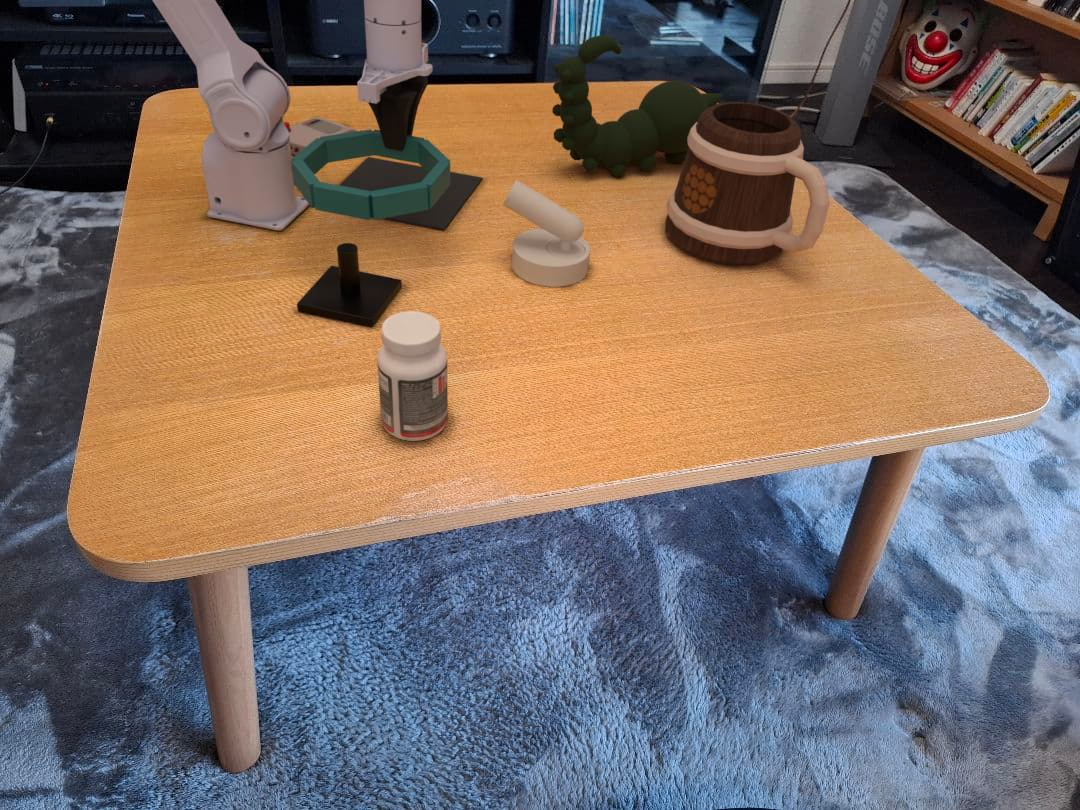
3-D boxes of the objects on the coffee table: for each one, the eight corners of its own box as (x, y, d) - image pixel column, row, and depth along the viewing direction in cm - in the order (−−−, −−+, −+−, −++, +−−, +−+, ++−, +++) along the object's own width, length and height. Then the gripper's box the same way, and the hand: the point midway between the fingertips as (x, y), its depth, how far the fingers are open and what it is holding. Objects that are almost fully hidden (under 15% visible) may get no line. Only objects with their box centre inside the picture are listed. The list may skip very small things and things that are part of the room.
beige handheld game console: (368, 133, 122) (367, 112, 120) (286, 168, 111) (284, 146, 109) (332, 121, 124) (331, 100, 122) (250, 154, 114) (246, 132, 112)
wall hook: (513, 163, 95) (602, 177, 94) (509, 240, 101) (593, 254, 100) (494, 196, 88) (590, 211, 87) (491, 277, 94) (581, 292, 93)
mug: (636, 228, 105) (655, 107, 96) (718, 199, 113) (743, 85, 104) (762, 303, 94) (798, 174, 85) (843, 265, 102) (885, 143, 92)
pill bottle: (457, 411, 76) (459, 317, 70) (431, 451, 72) (429, 355, 66) (399, 394, 77) (395, 301, 71) (369, 432, 73) (362, 337, 67)
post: (297, 311, 86) (290, 259, 83) (331, 273, 92) (327, 222, 89) (372, 327, 85) (369, 275, 81) (402, 287, 91) (400, 236, 87)
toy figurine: (572, 201, 114) (733, 165, 121) (575, 55, 101) (754, 25, 108) (543, 171, 120) (698, 139, 127) (542, 31, 107) (714, 3, 115)
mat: (318, 206, 104) (318, 204, 104) (368, 158, 115) (368, 156, 115) (444, 230, 101) (444, 228, 101) (482, 179, 113) (482, 177, 113)
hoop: (271, 201, 87) (268, 177, 86) (337, 144, 99) (335, 121, 97) (414, 229, 85) (413, 205, 83) (464, 167, 97) (464, 145, 95)
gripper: (403, 43, 82) (406, 177, 90) (453, 5, 93) (452, 128, 101) (334, 32, 83) (344, 165, 91) (392, -4, 94) (396, 118, 102)
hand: (397, 145), depth 97 cm, fingers closed on hoop
